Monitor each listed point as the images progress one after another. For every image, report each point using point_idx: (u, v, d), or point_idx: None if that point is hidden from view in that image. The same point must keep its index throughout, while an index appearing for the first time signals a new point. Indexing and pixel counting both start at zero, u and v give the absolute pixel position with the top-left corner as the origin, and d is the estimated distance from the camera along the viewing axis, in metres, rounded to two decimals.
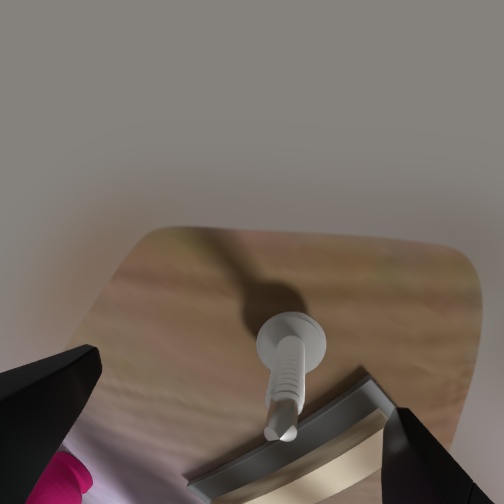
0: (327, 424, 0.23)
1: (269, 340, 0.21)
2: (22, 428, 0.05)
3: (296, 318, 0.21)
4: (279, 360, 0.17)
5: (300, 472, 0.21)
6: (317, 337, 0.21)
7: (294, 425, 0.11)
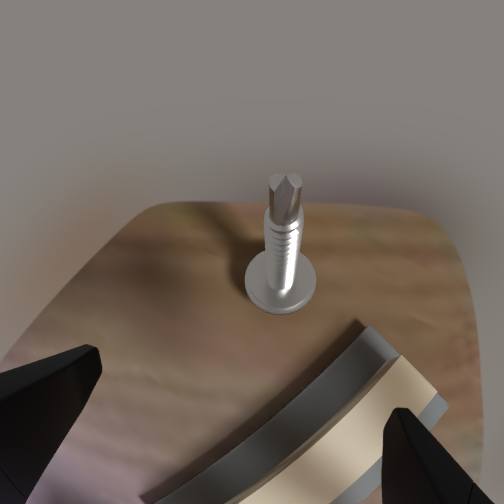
0: (330, 388, 0.19)
1: (258, 272, 0.22)
2: (22, 428, 0.05)
3: None
4: None
5: (306, 448, 0.16)
6: (306, 266, 0.22)
7: (298, 176, 0.13)
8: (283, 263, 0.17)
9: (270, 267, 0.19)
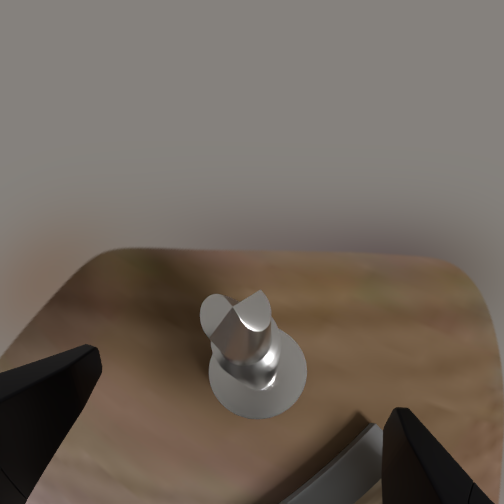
0: (319, 501, 0.13)
1: None
2: (22, 428, 0.05)
3: None
4: None
5: None
6: (293, 355, 0.15)
7: (264, 295, 0.06)
8: None
9: None
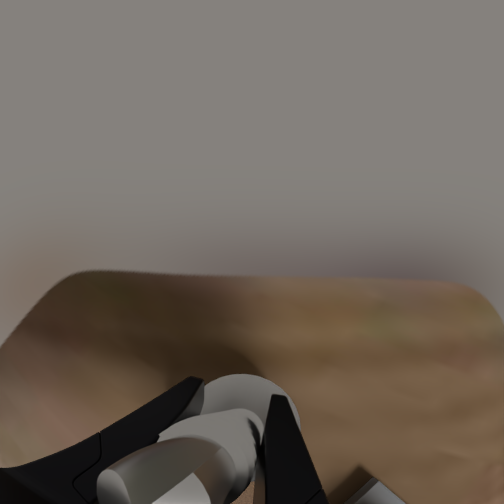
0: None
1: None
2: None
3: (248, 382, 0.12)
4: None
5: None
6: None
7: (201, 479, 0.03)
8: None
9: None
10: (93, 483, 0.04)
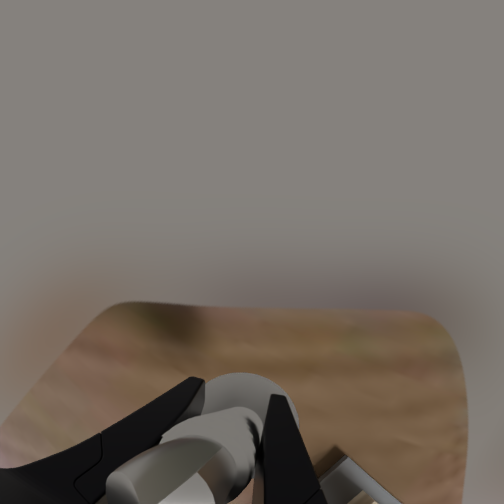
0: None
1: None
2: None
3: (246, 380, 0.13)
4: None
5: None
6: None
7: (205, 478, 0.03)
8: None
9: None
10: (94, 483, 0.04)
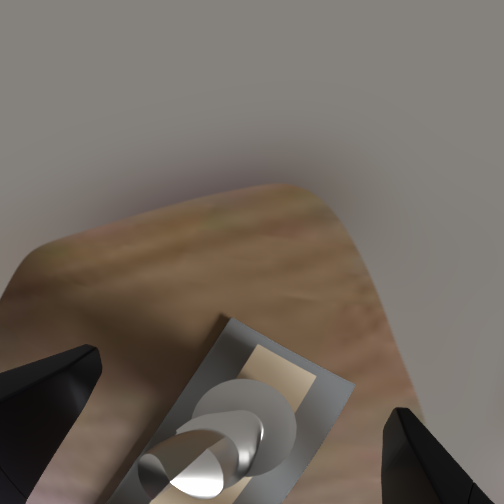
0: (204, 392, 0.18)
1: None
2: (22, 428, 0.05)
3: (245, 386, 0.14)
4: None
5: None
6: (280, 410, 0.13)
7: (214, 453, 0.04)
8: None
9: None
10: None
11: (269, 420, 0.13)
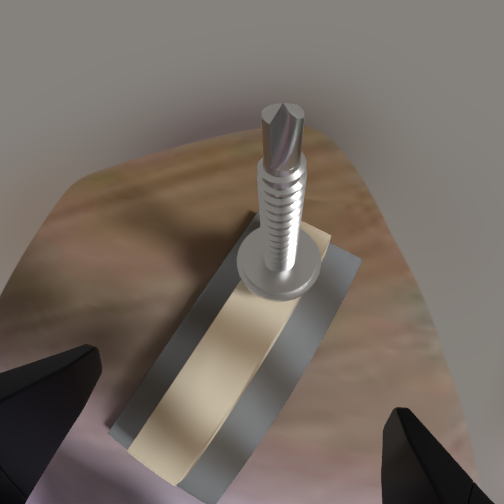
0: None
1: (252, 253, 0.18)
2: (22, 428, 0.05)
3: None
4: None
5: None
6: (307, 242, 0.19)
7: None
8: (283, 233, 0.14)
9: (267, 241, 0.15)
10: None
11: (299, 250, 0.18)
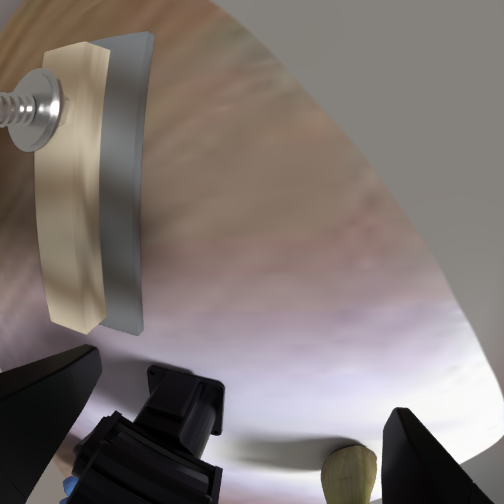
0: None
1: None
2: (22, 428, 0.05)
3: (21, 81, 0.13)
4: None
5: None
6: (41, 78, 0.12)
7: None
8: None
9: None
10: None
11: (38, 90, 0.13)
